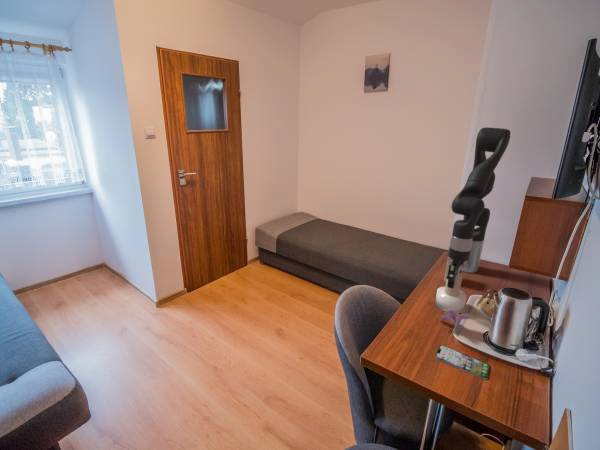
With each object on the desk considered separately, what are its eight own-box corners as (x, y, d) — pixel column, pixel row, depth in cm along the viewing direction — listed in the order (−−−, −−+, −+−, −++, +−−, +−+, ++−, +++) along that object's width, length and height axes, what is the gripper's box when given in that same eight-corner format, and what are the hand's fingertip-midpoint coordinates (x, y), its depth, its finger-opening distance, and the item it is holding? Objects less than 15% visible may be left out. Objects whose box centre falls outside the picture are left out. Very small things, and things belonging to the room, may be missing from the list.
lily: (477, 334, 111) (474, 307, 113) (473, 339, 102) (469, 310, 104) (442, 331, 118) (439, 306, 120) (435, 336, 109) (432, 309, 111)
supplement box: (454, 285, 142) (459, 260, 138) (443, 282, 145) (447, 257, 140) (458, 278, 148) (462, 253, 144) (447, 275, 151) (451, 251, 147)
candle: (461, 297, 122) (465, 275, 118) (447, 296, 122) (451, 274, 119) (456, 289, 127) (460, 268, 124) (442, 289, 127) (446, 268, 124)
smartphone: (487, 379, 90) (435, 357, 98) (487, 382, 90) (434, 359, 99) (490, 364, 96) (440, 343, 104) (489, 367, 96) (439, 346, 104)
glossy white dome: (440, 295, 134) (442, 283, 132) (467, 304, 127) (469, 292, 125) (431, 306, 126) (433, 294, 124) (459, 317, 119) (462, 304, 117)
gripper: (465, 255, 110) (458, 293, 115) (475, 243, 120) (468, 279, 126) (444, 250, 115) (438, 287, 120) (455, 239, 125) (449, 274, 130)
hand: (453, 283), depth 123 cm, fingers open, 8 cm apart
